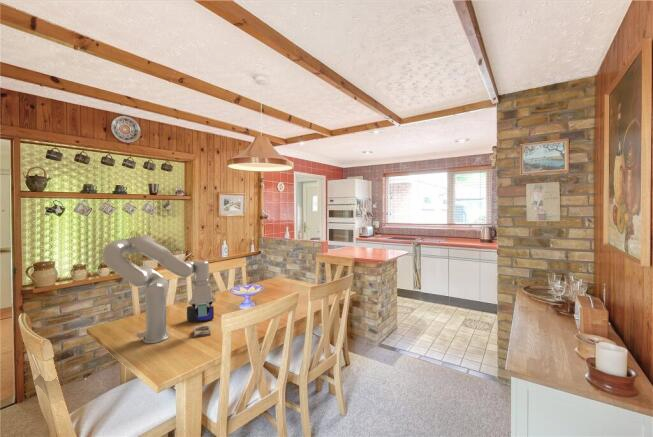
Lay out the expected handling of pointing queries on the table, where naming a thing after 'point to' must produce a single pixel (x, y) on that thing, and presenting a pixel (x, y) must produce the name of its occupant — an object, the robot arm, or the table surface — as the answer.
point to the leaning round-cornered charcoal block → (194, 318)
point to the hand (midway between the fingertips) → (202, 313)
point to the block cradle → (201, 331)
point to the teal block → (202, 309)
